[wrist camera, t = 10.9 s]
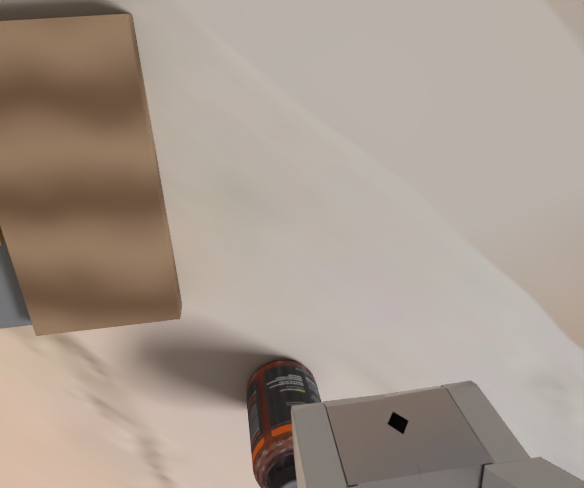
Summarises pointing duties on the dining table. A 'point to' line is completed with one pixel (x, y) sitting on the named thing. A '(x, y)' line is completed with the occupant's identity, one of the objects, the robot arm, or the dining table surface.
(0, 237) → the pale yellow flat block
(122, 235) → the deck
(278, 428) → the supplement bottle
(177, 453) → the dining table surface
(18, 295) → the mat
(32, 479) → the dining table surface
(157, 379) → the dining table surface
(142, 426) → the dining table surface
